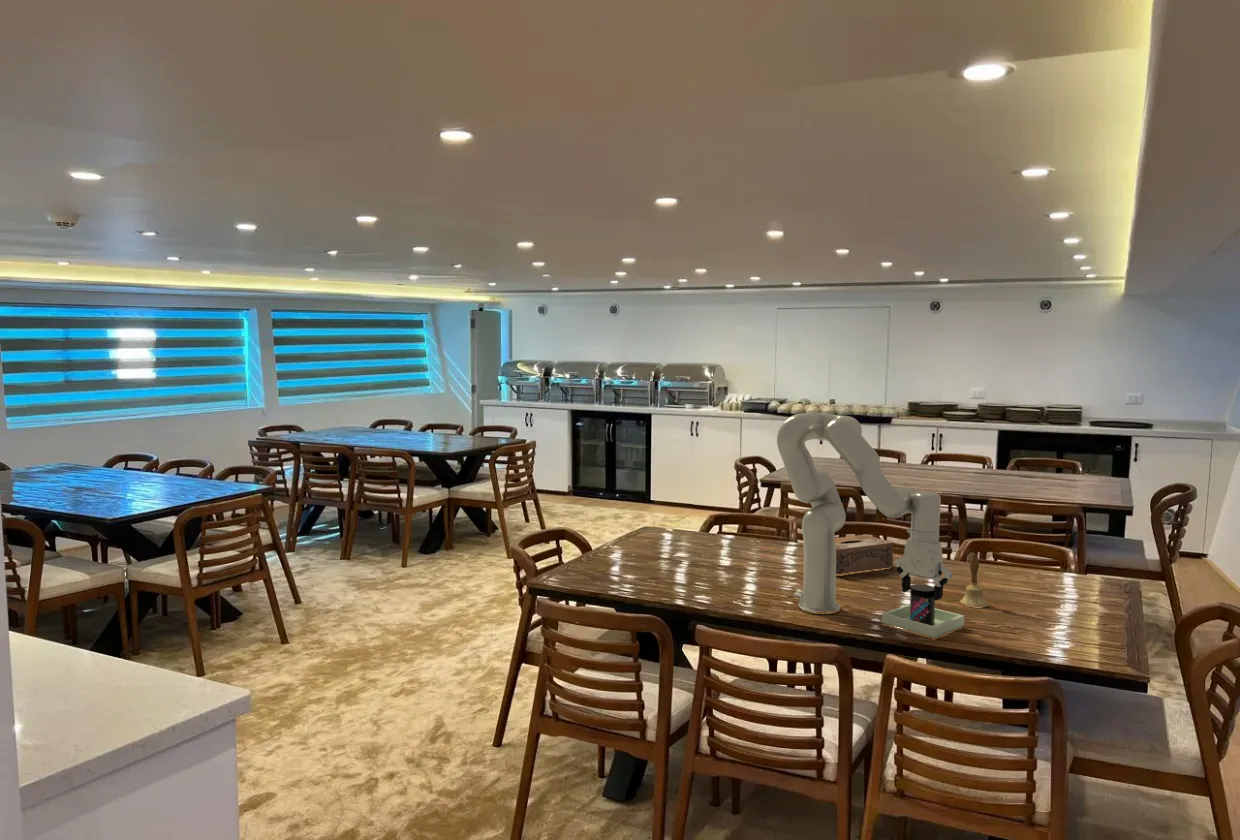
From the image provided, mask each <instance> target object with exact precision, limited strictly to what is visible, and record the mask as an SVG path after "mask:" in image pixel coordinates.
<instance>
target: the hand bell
mask: <svg viewBox="0 0 1240 840" xmlns="http://www.w3.org/2000/svg"><path fill="white" fill-rule="evenodd" d="M979 562H980V561H979V558H978V555H977V553H972V554H971V557H970V559H969V569H970V574H971V575H970V576H971V580H970V585H967V586H966V588H965V593H964V596H963V598H961V600H959V602H961V603H963V604H965V605H969V606H974V607H986V606H988V607H989V604H988V602H987V601H986V600H985V598H984V595H983V588H982V587H981V586H979V585H978V571H979V568H980V567H979V566H980V563H979Z"/></svg>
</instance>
